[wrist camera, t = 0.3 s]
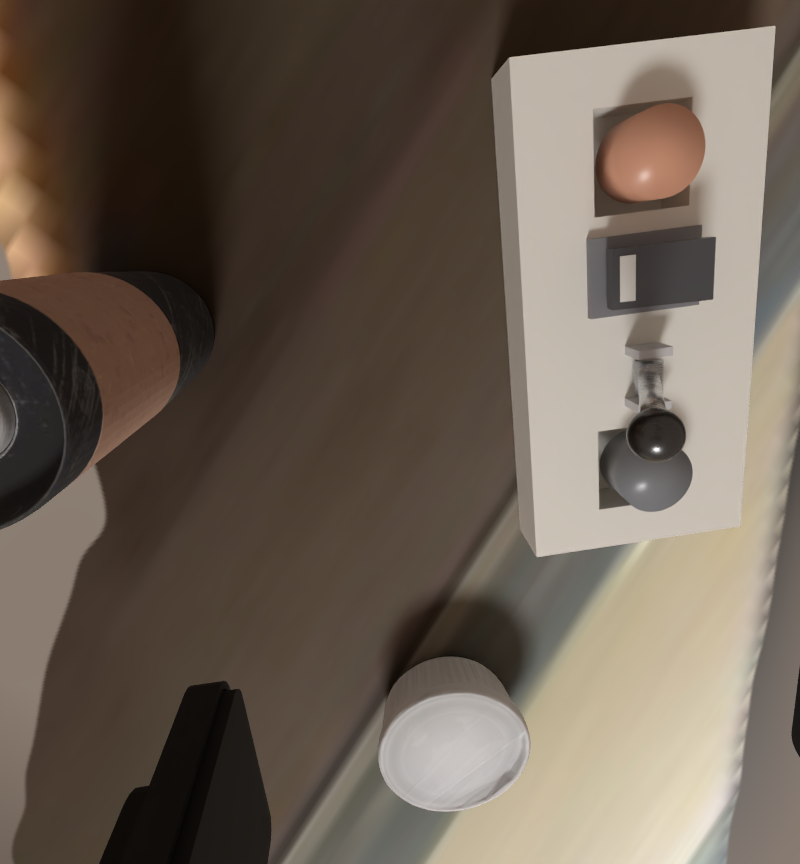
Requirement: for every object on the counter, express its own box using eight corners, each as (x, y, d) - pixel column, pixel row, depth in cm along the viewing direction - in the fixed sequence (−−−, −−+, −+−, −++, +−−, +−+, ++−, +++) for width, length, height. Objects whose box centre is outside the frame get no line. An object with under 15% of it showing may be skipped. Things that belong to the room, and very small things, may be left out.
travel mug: (161, 240, 34) (-77, 229, 15) (245, 344, 37) (128, 448, 18) (65, 315, 35) (-274, 394, 16) (152, 413, 37) (-56, 582, 18)
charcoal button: (599, 433, 37) (621, 449, 34) (666, 423, 37) (694, 439, 34) (600, 495, 38) (621, 516, 35) (664, 486, 38) (691, 506, 35)
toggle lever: (626, 355, 35) (626, 417, 24) (670, 353, 34) (689, 417, 23) (626, 394, 36) (626, 470, 25) (669, 393, 35) (687, 471, 24)
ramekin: (487, 764, 49) (502, 823, 44) (359, 744, 47) (360, 802, 42) (531, 656, 46) (553, 707, 41) (397, 630, 44) (402, 679, 39)
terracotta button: (594, 122, 31) (620, 108, 28) (673, 112, 32) (707, 98, 29) (595, 208, 33) (620, 204, 30) (671, 198, 33) (703, 193, 30)
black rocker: (606, 248, 32) (612, 249, 30) (706, 236, 31) (716, 236, 30) (607, 307, 33) (612, 310, 31) (704, 297, 32) (713, 299, 31)
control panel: (491, 79, 33) (518, 45, 28) (727, 50, 34) (801, 12, 28) (520, 529, 42) (545, 571, 37) (706, 501, 43) (758, 539, 37)
